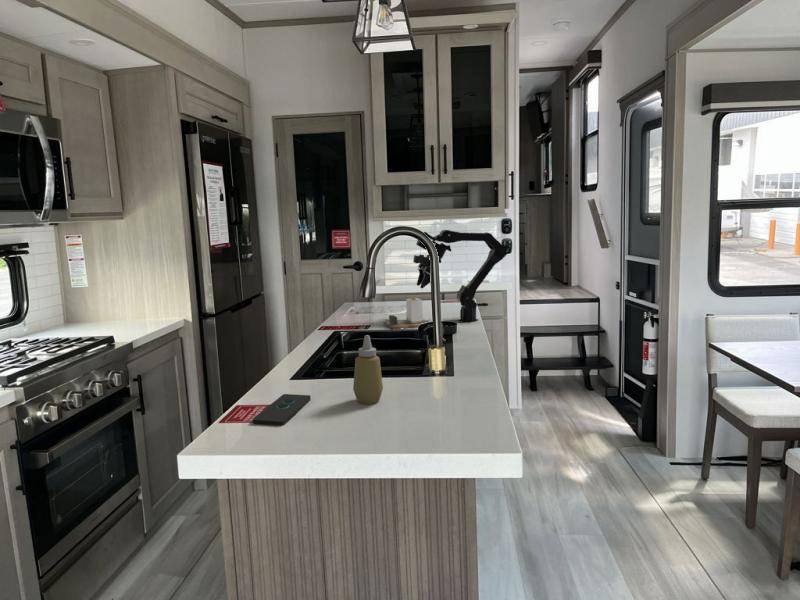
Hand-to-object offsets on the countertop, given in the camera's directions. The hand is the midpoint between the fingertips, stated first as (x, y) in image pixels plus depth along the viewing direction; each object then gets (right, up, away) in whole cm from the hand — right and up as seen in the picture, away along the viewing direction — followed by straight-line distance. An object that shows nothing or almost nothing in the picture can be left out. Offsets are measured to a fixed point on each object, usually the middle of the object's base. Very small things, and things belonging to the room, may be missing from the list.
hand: (419, 286), depth 259 cm
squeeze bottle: (-17, -33, -103) cm, 109 cm away
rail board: (-5, -17, -3) cm, 18 cm away
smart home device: (-39, -35, -109) cm, 121 cm away
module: (-2, -15, -2) cm, 16 cm away
